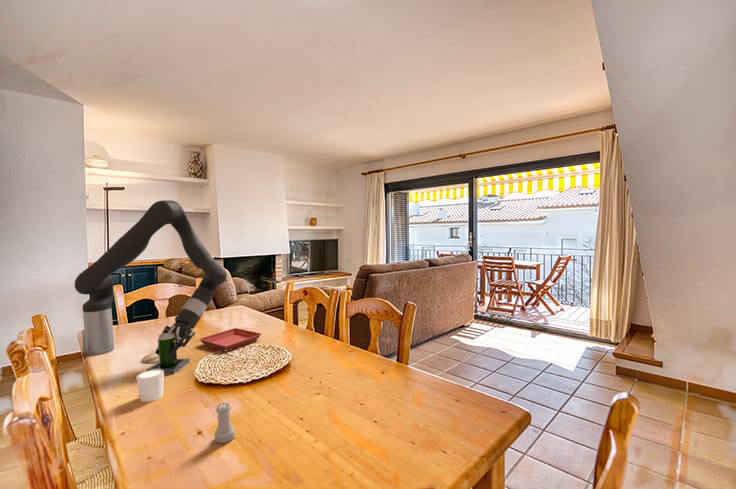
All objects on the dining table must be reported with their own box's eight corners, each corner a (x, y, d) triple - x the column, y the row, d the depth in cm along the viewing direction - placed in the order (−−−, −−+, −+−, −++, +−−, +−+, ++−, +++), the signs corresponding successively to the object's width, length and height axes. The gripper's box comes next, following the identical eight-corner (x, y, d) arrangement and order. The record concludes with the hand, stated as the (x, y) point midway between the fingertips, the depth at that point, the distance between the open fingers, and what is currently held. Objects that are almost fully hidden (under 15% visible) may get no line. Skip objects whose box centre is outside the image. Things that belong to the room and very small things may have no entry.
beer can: (160, 372, 120) (158, 338, 120) (159, 367, 125) (157, 334, 124) (178, 368, 123) (176, 334, 123) (176, 363, 128) (174, 331, 127)
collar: (146, 373, 119) (146, 369, 119) (164, 362, 129) (163, 358, 129) (174, 373, 119) (173, 369, 119) (189, 362, 128) (189, 358, 128)
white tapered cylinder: (170, 393, 105) (169, 370, 104) (149, 404, 98) (148, 380, 98) (153, 390, 107) (152, 367, 107) (131, 401, 101) (130, 377, 100)
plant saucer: (262, 340, 152) (262, 333, 152) (226, 354, 137) (225, 345, 137) (235, 334, 162) (235, 327, 162) (198, 346, 147) (198, 339, 146)
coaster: (135, 363, 129) (135, 361, 129) (154, 352, 140) (154, 351, 140) (164, 363, 129) (164, 361, 129) (181, 352, 140) (181, 350, 140)
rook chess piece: (218, 433, 83) (216, 400, 83) (237, 432, 84) (236, 399, 83) (211, 445, 79) (209, 410, 78) (232, 443, 79) (230, 409, 79)
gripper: (171, 306, 133) (141, 348, 123) (198, 309, 126) (168, 353, 116) (185, 316, 138) (157, 357, 128) (211, 319, 132) (184, 363, 121)
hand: (163, 355), depth 122 cm, fingers closed on beer can, 5 cm apart
